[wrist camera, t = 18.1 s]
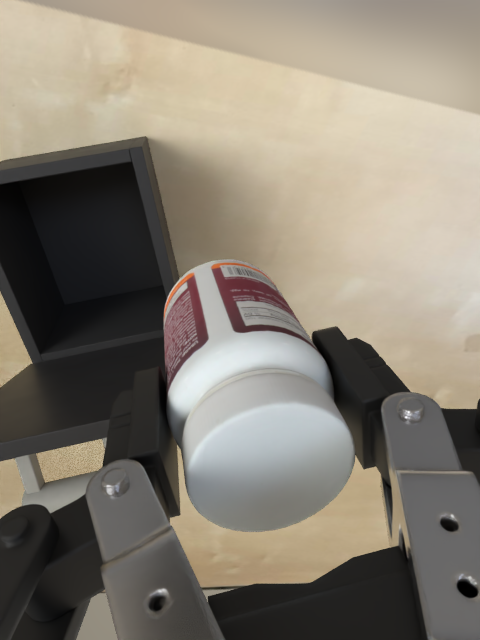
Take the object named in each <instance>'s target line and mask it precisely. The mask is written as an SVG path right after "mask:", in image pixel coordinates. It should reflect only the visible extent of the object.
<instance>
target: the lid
mask: <svg viewBox="0 0 480 640" xmlns="http://www.w3.org/2000/svg"><path fill="white" fill-rule="evenodd" d="M157 366H160V368H161V370H162V373H163V377H164V380H165V383H166V373H165V349H164V337H159V338H155V339H150V340H145V341H140V342H135V343H130V344H126V345H121V346H116V347H111V348H106V349H101V350H97V351H92V352H87V353H82V354H77V355H72V356H68V357H63V358H58V359H53V360H48V361H43V362H39V363H34V364H30V365H29V366H28V367H26V368H25V369H24V370H23V371H21V372H20V373H19V374H17V375H16V376H15V377H14V378H12V379H11V380H10V381H8V382H7V383H6V384H5V385H3V386H2V387H1V388H0V461H4V460H8V459H13V458H15V461H16V464H17V467H18V470H19V473H20V476H21V479H22V482H23V486H24V489H25V492H24V494H23V498H22V506H24V505H28V504H39V505H43V506H44V507H46V508H47V509H48V511H49V512H50V513H52V512H54V511H56V510H58V509H60V508H62V507H64V506H66V505H68V504H70V503H71V502H73V501H75V500H77V499H79V498H80V497H81V496H83V495H84V494H85V493H86V487H87V484H88V482H89V480H90V479H91V478H92V476H93V475H94V474H95V473H96V472H97V471H94V472H90V473H86V474H81V475H77V476H72V477H68V478H64V479H59V480H55V481H51V482H46V483H45V482H44V478H43V475H42V472H41V469H40V466H39V462H38V459H37V456H36V453H39V452H44V451H48V450H53V449H57V448H62V447H66V446H71V445H75V444H80V443H84V442H89V441H93V440H98V439H102V440H103V444H104V448H105V447H106V441H107V434H108V430H109V421H110V419H111V418H110V415H111V408H112V404H113V402H114V401H115V399H116V398H117V396H118V395H119V393H120V392H121V391H125V390H129V389H133V387H134V375H135V371H139V370H143V369H148V368H152V367H157Z"/></svg>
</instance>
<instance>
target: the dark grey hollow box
mask: <svg viewBox="0 0 480 640" xmlns="http://www.w3.org/2000/svg"><path fill="white" fill-rule="evenodd" d="M178 280H179V275H178V270H177V266H176V262H175V257H174V253H173V249H172V244H171V240H170V235H169V231H168V227H167V222H166V218H165V214H164V209H163V205H162V200H161V196H160V192H159V187H158V183H157V179H156V174H155V170H154V165H153V161H152V157H151V152H150V148H149V144H148V139H147V137H146V136H145V137H140V138H134V139H128V140H122V141H116V142H110V143H104V144H98V145H92V146H86V147H81V148H75V149H69V150H63V151H57V152H51V153H45V154H39V155H33V156H27V157H21V158H16V159H10V160H4V161H1V162H0V291H1V294H2V296H3V298H4V300H5V303H6V305H7V307H8V309H9V311H10V314H11V316H12V318H13V320H14V323H15V325H16V327H17V329H18V331H19V334H20V336H21V338H22V340H23V343H24V345H25V347H26V349H27V351H28V354H29V356H30V358H31V360H32V362H33V364H34V363H39V362H43V361H48V360H53V359H58V358H63V357H68V356H72V355H77V354H82V353H87V352H92V351H97V350H101V349H106V348H111V347H116V346H121V345H126V344H130V343H135V342H140V341H145V340H150V339H155V338H159V337H164V308H165V304H166V301H167V298H168V295H169V293H170V292H171V290H172V288H173V287H174V285H175V284H176V283H177V282H178Z"/></svg>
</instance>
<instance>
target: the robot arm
mask: <svg viewBox="0 0 480 640" xmlns="http://www.w3.org/2000/svg"><path fill="white" fill-rule="evenodd" d="M312 341H313V344H314V345H315V347H316V348H317V350H318V351H319V352H320V353H321V355H322V356H323V358H324V359H325V361H326V363H327V365H328V367H329V369H330V372H331V376H332V380H333V385H334V403H335V405H336V406H337V408H338V410H339V412H340V414H341V415H342V417H343V419H344V420H345V422H346V424H347V426H348V428H349V429H350V431H351V434H352V436H353V440H354V445H355V455H356V456H357V458H358V460H359V462H360V464H361V465H362V467H363V469H367V468H371V467H375V466H376V467H377V468H378V470H379V472H380V473H381V490H382V497H383V504H384V511H385V518H386V525H387V532H388V539H389V546H390V548H387V549H383V550H379V551H376V552H372V553H368V554H365V555H361V556H357V557H353V558H352V559H350V560H348V561H347V562H345V563H343V564H342V565H340V566H338V567H337V568H335V569H333V570H332V571H330V572H328V573H327V574H325V575H323V576H322V577H320V578H318V579H317V580H315V581H313V582H311V583H308V584H253V585H249V586H245V587H242V588H238V589H234V590H230V591H227V592H223V593H219V594H216V595H212V596H208V602H207V600H206V598H205V595H204V593H203V591H202V589H201V587H200V585H199V582H198V580H197V578H196V576H195V574H194V572H193V570H192V567H191V565H190V563H189V561H188V559H187V557H186V554H185V552H184V550H183V548H182V546H181V544H180V542H179V539H178V537H177V535H176V533H175V531H174V529H173V527H172V526H170V518H171V517H175V516H179V515H180V497H179V478H178V458H177V443H176V441H175V440H174V438H173V435H172V433H171V430H170V427H169V424H168V419H167V414H166V383H165V380H164V377H163V373H162V370H161V368H160V366H157V367H152V368H148V369H143V370H139V371H135V375H134V387H133V389H129V390H125V391H121V392H120V393H119V395H118V396H117V398H116V399H115V401H114V402H113V404H112V408H111V415H110V418H111V419H110V421H109V430H108V434H107V441H106V447H105V454H104V460H103V467H102V468H101V469H99V470H98V471H97V472H96V473H95V474H94V475H93V476H92V478H91V479H90V480H89V482H88V484H87V487H86V493H85V494H84V495H83V496H81V497H80V498H79V499H77V500H75V501H73V502H71V503H70V504H68V505H66V506H64V507H62V508H60V509H58V510H56V511H54V512H52V513H50V512H49V511H48V509H47V508H46V507H44V506H43V505H39V504H28V505H24V506H21V507H19V508H16V509H14V510H12V511H11V512H9V513H7V514H6V515H5V516H3V517H2V518H1V519H0V640H76V638H77V635H78V632H79V630H80V627H81V624H82V622H83V618H84V616H85V613H86V611H87V608H88V605H89V602H90V599H91V598H92V597H93V596H95V595H97V594H98V593H100V592H102V591H103V590H105V591H106V595H107V599H108V603H109V606H110V610H111V614H112V618H113V622H114V626H115V630H116V634H117V638H118V640H480V399H479V401H478V405H477V409H444V408H440V406H439V405H438V404H437V403H436V402H435V401H434V400H433V399H431V398H429V397H427V396H425V395H422V394H419V393H414V392H410V390H409V389H408V388H407V387H406V386H405V385H404V383H403V382H402V381H401V380H400V379H399V378H398V376H397V375H396V374H395V373H394V372H393V371H392V370H391V368H390V367H389V366H388V365H386V363H385V361H384V360H383V359H382V358H381V357H379V354H378V353H377V352H376V351H375V350H374V349H373V347H372V346H371V345H370V344H368V343H366V342H364V341H362V340H360V339H358V338H354V339H350V340H347V338H346V337H345V336H344V335H343V333H342V332H341V331H340V329H339V328H338V327H336V326H335V327H331V328H326V329H322V330H318V331H313V333H312Z"/></svg>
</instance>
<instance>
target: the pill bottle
mask: <svg viewBox="0 0 480 640" xmlns="http://www.w3.org/2000/svg"><path fill="white" fill-rule="evenodd" d="M164 349H165V373H166V414H167V419H168V424H169V427H170V430H171V433H172V435H173V438H174V440H175V441H176V443H177V445H178V446H179V448H180V449H181V453H182V459H183V466H184V476H185V484H186V489H187V493H188V496H189V498H190V500H191V502H192V504H193V505H194V507H195V508H196V510H197V511H198V512H199V513H200V514H201V515H202V516H204V517H205V518H206V519H208V520H209V521H211V522H213V523H214V524H216V525H218V526H221V527H223V528H227V529H231V530H235V531H243V532H263V531H271V530H276V529H281V528H284V527H288V526H290V525H293V524H296V523H298V522H301V521H303V520H305V519H307V518H308V517H310V516H312V515H314V514H316V513H317V512H318V511H320V510H321V509H323V508H324V507H325V506H327V505H328V504H329V503H330V502H331V501H332V500H333V499H334V498H335V497H336V496H337V495H338V494H339V493H340V491H341V490H342V489H343V487H344V486H345V484H346V483H347V481H348V479H349V477H350V475H351V472H352V469H353V466H354V462H355V445H354V440H353V436H352V434H351V431H350V429H349V428H348V426H347V424H346V422H345V420H344V419H343V417H342V415H341V414H340V412H339V410H338V408H337V406H336V405H335V403H334V385H333V380H332V376H331V372H330V369H329V367H328V365H327V363H326V361H325V359H324V358H323V356H322V355H321V353H320V352H319V351H318V350H317V348H316V347H315V345H314V344H313V342H312V341H311V339H310V338H309V336H308V335H307V333H306V331H305V330H304V328H303V327H302V325H301V324H300V322H299V321H298V319H297V318H296V316H295V315H294V313H293V311H292V310H291V308H290V307H289V305H288V304H287V302H286V301H285V299H284V298H283V295H282V294H281V292H280V291H279V290H278V289H277V287H276V285H275V284H274V282H273V281H272V280H271V279H270V278H269V276H268V275H266V274H265V273H264V272H263V271H262V270H260V269H259V268H257V267H255V266H253V265H251V264H249V263H246V262H244V261H239V260H233V259H221V260H214V261H210V262H207V263H204V264H201V265H199V266H196V267H195V268H193V269H191V270H189V271H188V272H187V273H186V274H184V275H183V276H182V277H181V278H180V279H179V280H178V282H177V283H176V284H175V285H174V287H173V288H172V290H171V292H170V293H169V295H168V298H167V301H166V304H165V308H164Z"/></svg>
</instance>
